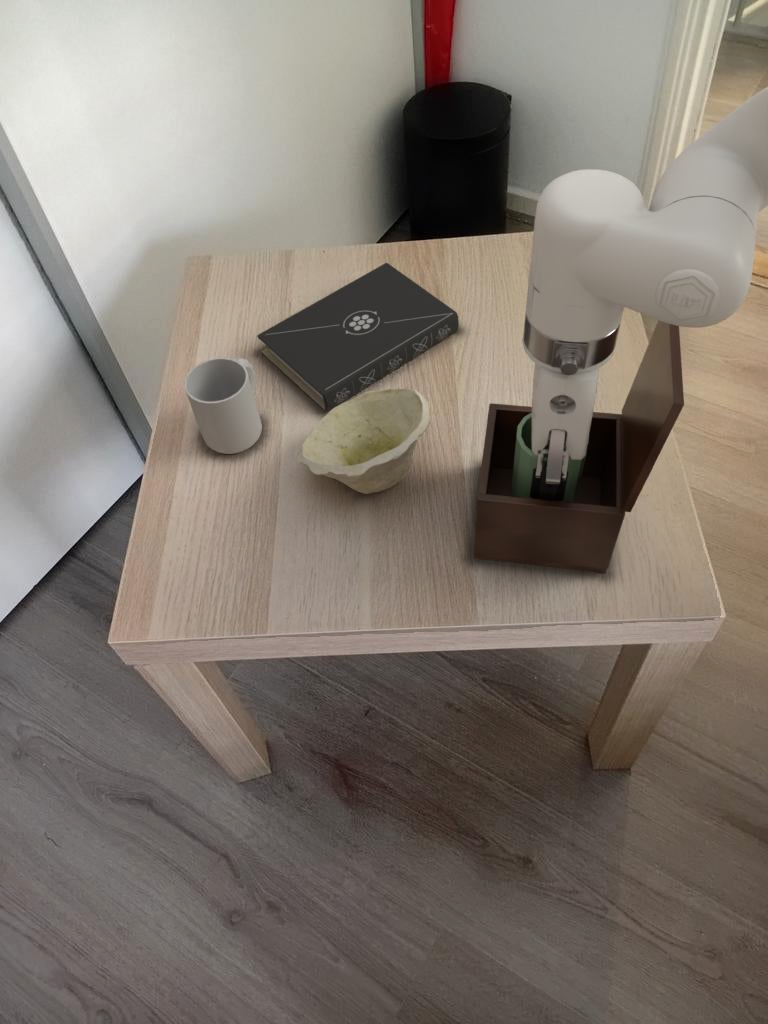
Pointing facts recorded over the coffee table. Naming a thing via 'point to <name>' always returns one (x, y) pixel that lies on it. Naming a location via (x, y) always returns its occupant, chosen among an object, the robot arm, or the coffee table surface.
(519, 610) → the coffee table surface
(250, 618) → the coffee table surface
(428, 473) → the coffee table surface
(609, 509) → the chest
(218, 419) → the cup
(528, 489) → the green cup
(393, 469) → the bowl
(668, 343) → the lid
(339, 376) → the book
